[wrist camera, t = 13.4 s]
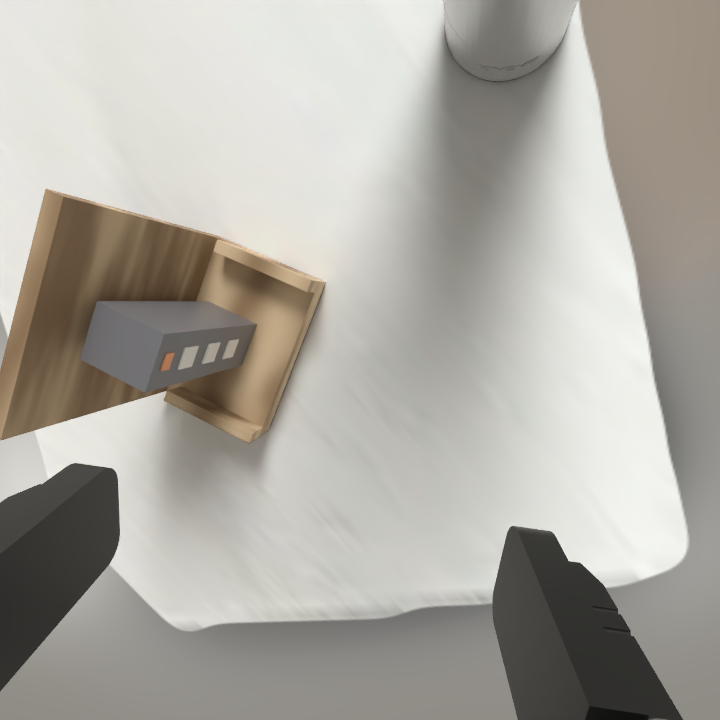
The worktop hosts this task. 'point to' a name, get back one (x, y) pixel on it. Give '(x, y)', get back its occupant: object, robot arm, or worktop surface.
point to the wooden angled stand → (144, 283)
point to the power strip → (164, 341)
